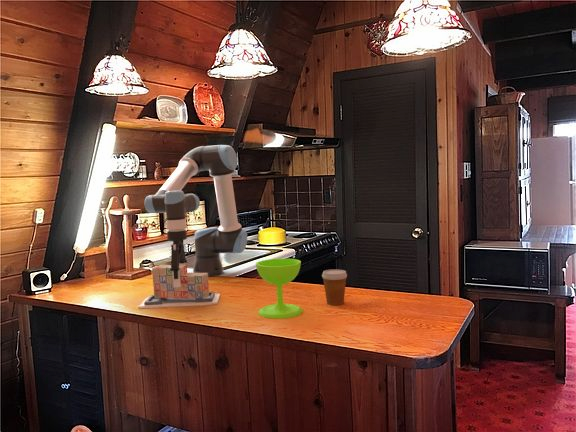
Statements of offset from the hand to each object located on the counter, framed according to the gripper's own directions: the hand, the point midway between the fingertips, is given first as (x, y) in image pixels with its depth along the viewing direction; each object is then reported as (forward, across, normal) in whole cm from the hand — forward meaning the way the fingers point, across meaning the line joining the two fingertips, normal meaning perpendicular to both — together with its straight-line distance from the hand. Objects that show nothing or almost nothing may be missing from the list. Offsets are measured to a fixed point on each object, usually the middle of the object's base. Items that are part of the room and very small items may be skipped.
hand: (180, 283), depth 198 cm
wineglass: (+8, +22, +39) cm, 45 cm away
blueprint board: (+8, 0, 0) cm, 8 cm away
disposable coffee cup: (+8, +14, +60) cm, 62 cm away
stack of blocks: (+6, 0, 0) cm, 6 cm away
